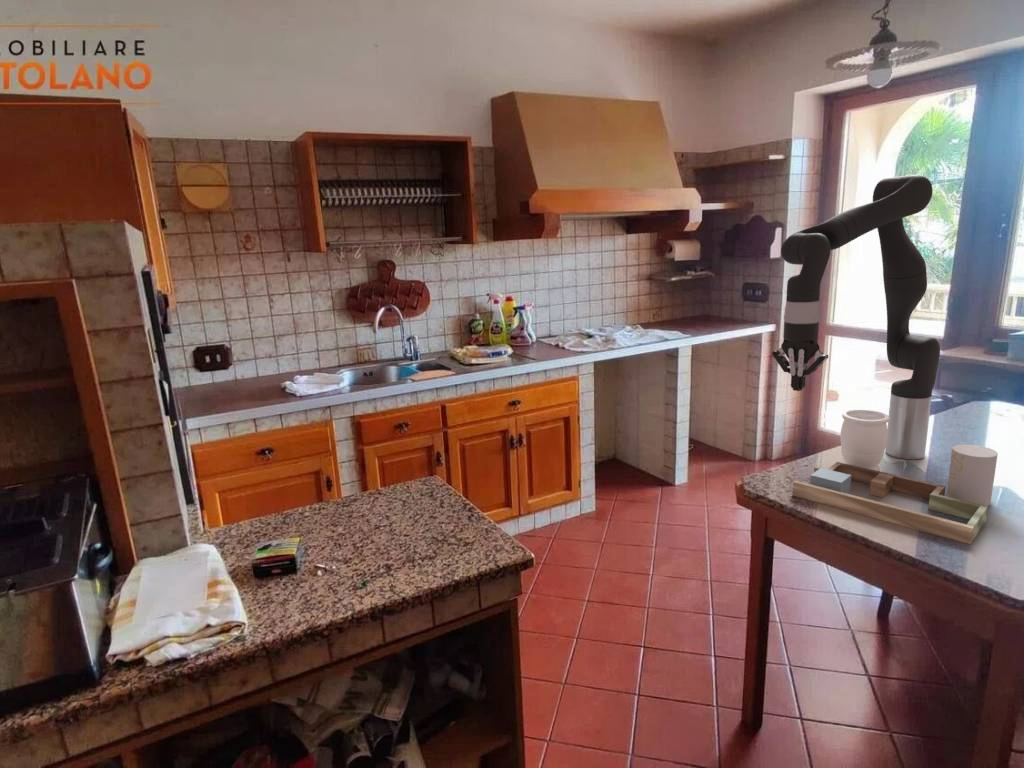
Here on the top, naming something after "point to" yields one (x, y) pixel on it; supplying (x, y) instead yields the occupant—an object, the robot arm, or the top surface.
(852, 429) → the jar
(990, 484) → the white cylinder
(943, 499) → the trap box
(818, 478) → the block
